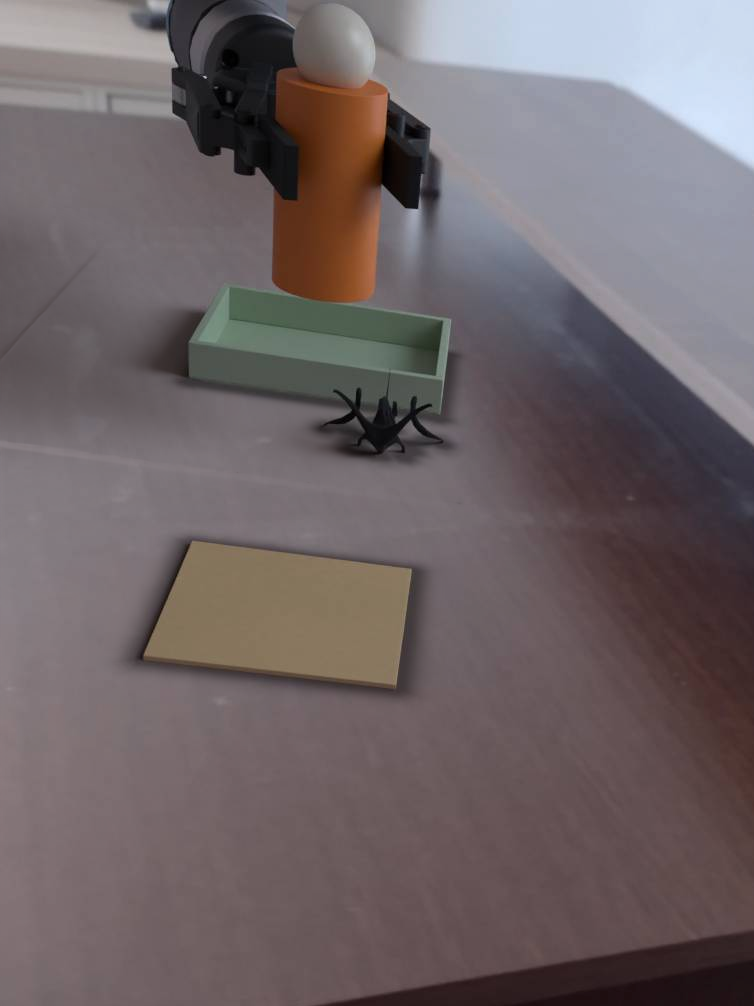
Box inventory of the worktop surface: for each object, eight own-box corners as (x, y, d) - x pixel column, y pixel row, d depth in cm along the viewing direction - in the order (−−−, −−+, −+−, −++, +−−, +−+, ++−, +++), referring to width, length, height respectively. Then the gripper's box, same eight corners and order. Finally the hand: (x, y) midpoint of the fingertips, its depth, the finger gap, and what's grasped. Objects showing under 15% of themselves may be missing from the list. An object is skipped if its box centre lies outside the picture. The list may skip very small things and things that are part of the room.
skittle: (265, 293, 76) (271, 0, 67) (278, 262, 81) (286, -15, 72) (370, 309, 77) (389, 23, 68) (377, 278, 82) (396, 7, 73)
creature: (328, 433, 90) (313, 455, 83) (334, 352, 88) (319, 367, 81) (443, 450, 91) (438, 473, 84) (451, 370, 89) (448, 386, 82)
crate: (188, 385, 90) (188, 341, 88) (222, 323, 100) (222, 282, 98) (439, 422, 92) (443, 380, 91) (447, 357, 103) (451, 318, 101)
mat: (143, 662, 63) (142, 655, 63) (192, 546, 73) (191, 540, 73) (395, 691, 65) (396, 684, 65) (411, 574, 74) (411, 568, 74)
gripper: (395, 151, 93) (509, 259, 77) (110, 126, 85) (171, 240, 69) (404, 31, 89) (527, 118, 73) (104, -8, 81) (168, 81, 65)
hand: (353, 178), depth 71 cm, fingers closed on skittle, 6 cm apart
